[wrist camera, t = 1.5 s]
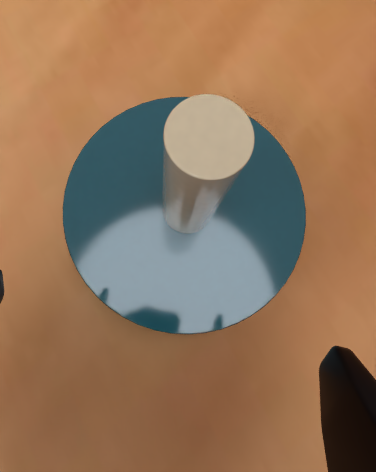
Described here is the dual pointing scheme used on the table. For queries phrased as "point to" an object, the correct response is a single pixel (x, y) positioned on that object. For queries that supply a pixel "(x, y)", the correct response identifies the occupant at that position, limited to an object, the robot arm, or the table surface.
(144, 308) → the lid
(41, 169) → the table surface
